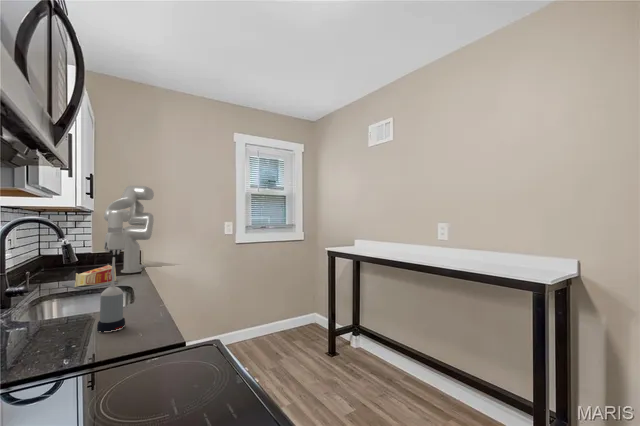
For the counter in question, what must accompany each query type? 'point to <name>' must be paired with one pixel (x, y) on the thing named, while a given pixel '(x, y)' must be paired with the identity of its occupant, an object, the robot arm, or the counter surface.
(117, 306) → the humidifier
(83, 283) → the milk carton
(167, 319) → the counter surface
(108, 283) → the mat
